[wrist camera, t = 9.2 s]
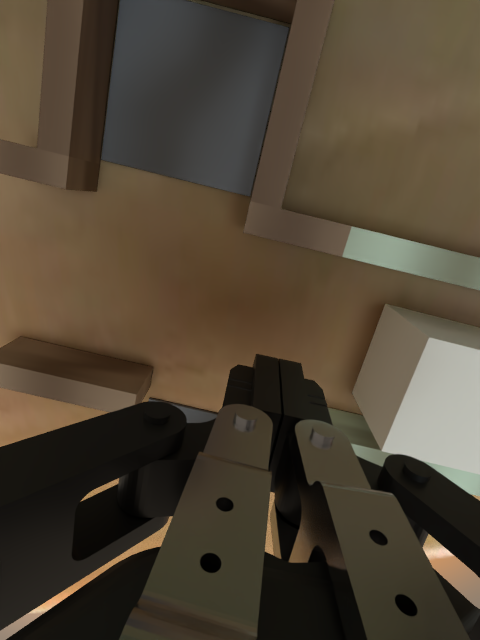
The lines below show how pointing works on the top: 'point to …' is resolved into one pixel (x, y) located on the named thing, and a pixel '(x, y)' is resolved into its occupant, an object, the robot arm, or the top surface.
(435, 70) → the top surface
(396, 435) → the cream block
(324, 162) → the top surface
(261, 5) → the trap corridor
